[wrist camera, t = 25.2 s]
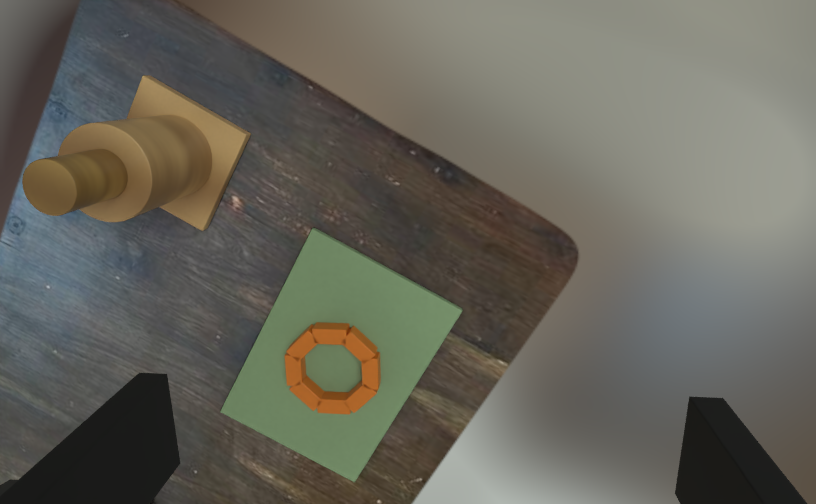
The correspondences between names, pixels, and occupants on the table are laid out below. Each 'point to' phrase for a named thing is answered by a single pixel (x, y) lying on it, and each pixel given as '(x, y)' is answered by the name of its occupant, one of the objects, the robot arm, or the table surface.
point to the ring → (310, 390)
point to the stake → (142, 162)
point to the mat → (339, 353)
